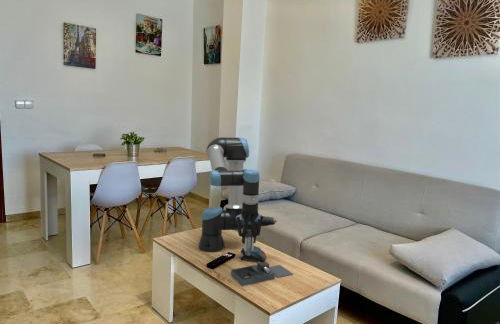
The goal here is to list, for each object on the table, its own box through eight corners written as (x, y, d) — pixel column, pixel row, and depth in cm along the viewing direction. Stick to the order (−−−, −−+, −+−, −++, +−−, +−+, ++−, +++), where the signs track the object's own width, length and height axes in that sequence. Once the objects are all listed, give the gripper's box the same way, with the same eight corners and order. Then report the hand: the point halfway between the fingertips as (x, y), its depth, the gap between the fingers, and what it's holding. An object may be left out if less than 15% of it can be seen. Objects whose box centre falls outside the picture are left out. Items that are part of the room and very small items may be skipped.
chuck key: (242, 256, 184) (243, 232, 182) (246, 251, 190) (247, 228, 188) (250, 257, 183) (251, 233, 181) (253, 252, 189) (254, 229, 187)
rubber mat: (265, 268, 200) (265, 267, 200) (279, 265, 204) (279, 264, 204) (278, 277, 190) (278, 277, 189) (292, 274, 194) (293, 273, 194)
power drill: (274, 264, 205) (276, 219, 201) (232, 259, 209) (233, 215, 206) (276, 258, 214) (278, 214, 210) (236, 253, 218) (237, 210, 214)
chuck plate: (230, 275, 190) (231, 264, 189) (262, 269, 199) (262, 258, 198) (242, 286, 180) (242, 274, 179) (274, 278, 189) (275, 267, 188)
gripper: (235, 205, 176) (234, 253, 180) (268, 204, 180) (266, 251, 184) (232, 200, 184) (230, 247, 187) (264, 200, 187) (262, 245, 191)
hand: (248, 249), depth 186 cm, fingers closed on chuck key, 3 cm apart
